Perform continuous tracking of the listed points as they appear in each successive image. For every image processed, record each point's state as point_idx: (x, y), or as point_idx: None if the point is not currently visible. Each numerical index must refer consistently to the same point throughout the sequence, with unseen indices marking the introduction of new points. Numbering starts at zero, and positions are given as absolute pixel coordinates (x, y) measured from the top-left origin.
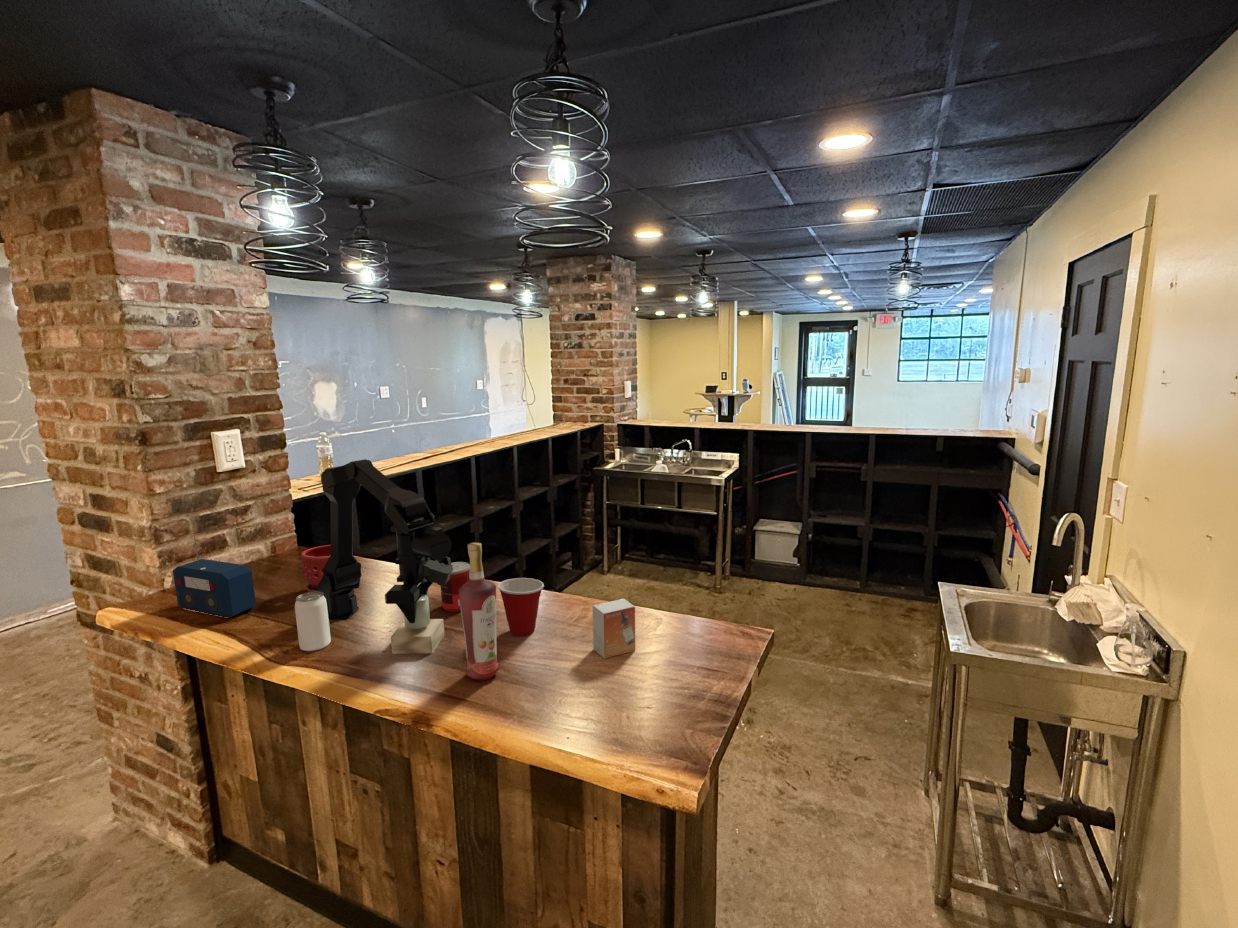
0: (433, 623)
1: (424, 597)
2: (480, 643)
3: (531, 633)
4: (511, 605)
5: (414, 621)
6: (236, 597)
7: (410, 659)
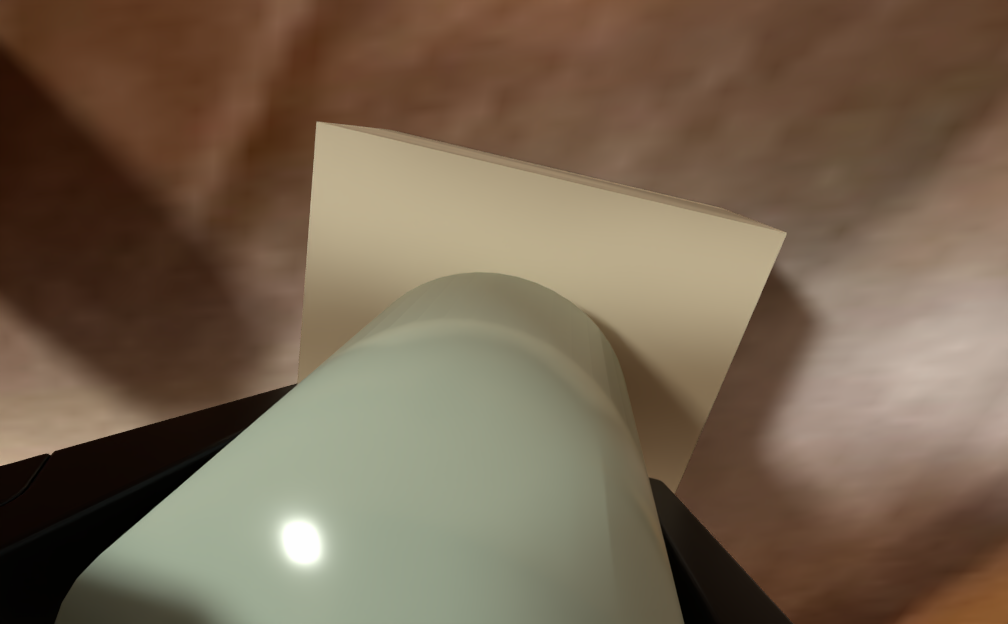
0: (426, 231)
1: (297, 597)
2: None
3: None
4: None
5: (672, 493)
6: None
7: (760, 365)
